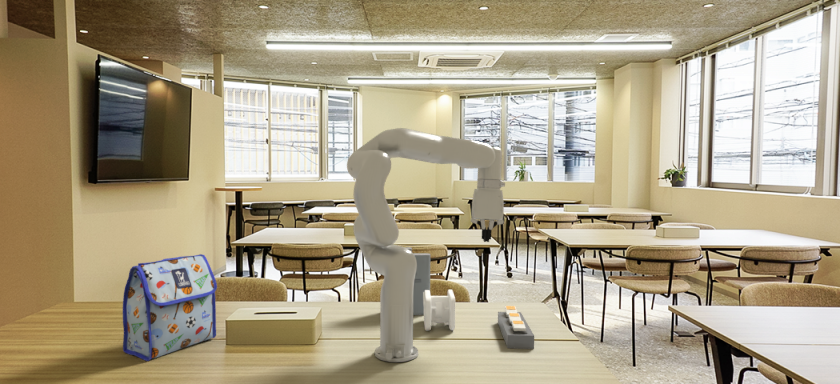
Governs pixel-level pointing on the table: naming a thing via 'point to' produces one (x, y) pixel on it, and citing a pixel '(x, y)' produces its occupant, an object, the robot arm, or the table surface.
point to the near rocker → (518, 326)
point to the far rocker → (510, 309)
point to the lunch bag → (168, 306)
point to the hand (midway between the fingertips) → (486, 241)
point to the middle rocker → (514, 317)
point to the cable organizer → (439, 309)
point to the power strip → (515, 333)
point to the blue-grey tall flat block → (420, 281)
